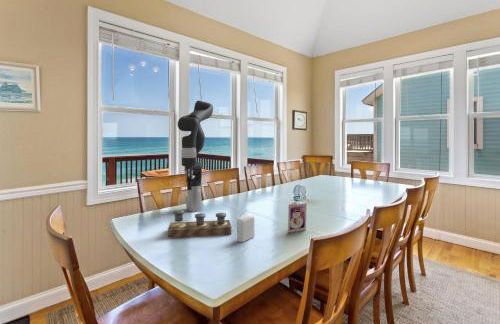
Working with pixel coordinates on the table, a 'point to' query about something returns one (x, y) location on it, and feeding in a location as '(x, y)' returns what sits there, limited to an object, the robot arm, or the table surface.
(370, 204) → the table surface
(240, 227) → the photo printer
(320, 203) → the table surface
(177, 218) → the left knob
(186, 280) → the table surface
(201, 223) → the middle knob
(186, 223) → the mount board
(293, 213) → the greeting card
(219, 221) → the right knob
